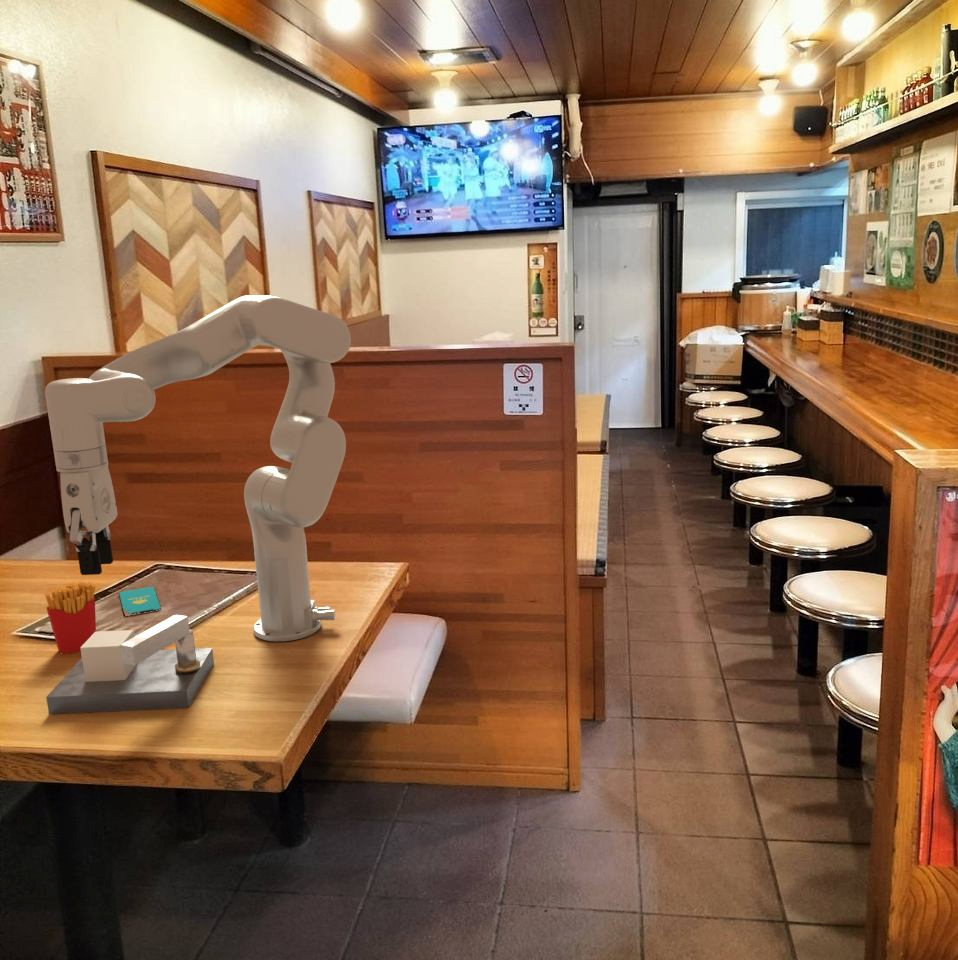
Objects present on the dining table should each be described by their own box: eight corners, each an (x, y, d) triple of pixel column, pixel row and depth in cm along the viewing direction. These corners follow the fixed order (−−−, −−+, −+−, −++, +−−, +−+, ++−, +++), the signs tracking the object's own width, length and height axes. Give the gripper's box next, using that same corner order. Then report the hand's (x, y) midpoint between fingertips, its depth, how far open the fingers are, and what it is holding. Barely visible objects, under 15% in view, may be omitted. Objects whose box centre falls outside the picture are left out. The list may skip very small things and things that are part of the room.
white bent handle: (186, 660, 155) (180, 609, 152) (205, 664, 153) (199, 612, 151) (123, 699, 142) (115, 644, 140) (143, 703, 140) (136, 647, 138)
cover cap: (138, 662, 155) (133, 629, 154) (125, 679, 149) (120, 645, 147) (100, 664, 155) (95, 631, 154) (85, 681, 149) (80, 647, 147)
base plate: (214, 663, 161) (212, 647, 160) (188, 707, 145) (186, 690, 144) (88, 669, 160) (85, 653, 160) (49, 714, 145) (46, 697, 144)
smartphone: (153, 585, 199) (161, 608, 186) (154, 588, 199) (162, 611, 186) (118, 592, 196) (123, 615, 183) (118, 595, 197) (124, 619, 183)
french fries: (57, 657, 166) (47, 594, 163) (51, 650, 169) (41, 589, 166) (105, 643, 171) (96, 583, 168) (98, 637, 174) (90, 577, 171)
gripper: (84, 469, 135) (101, 586, 139) (124, 446, 151) (138, 551, 156) (33, 471, 135) (51, 588, 139) (78, 448, 151) (93, 553, 156)
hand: (97, 567), depth 147 cm, fingers open, 4 cm apart
